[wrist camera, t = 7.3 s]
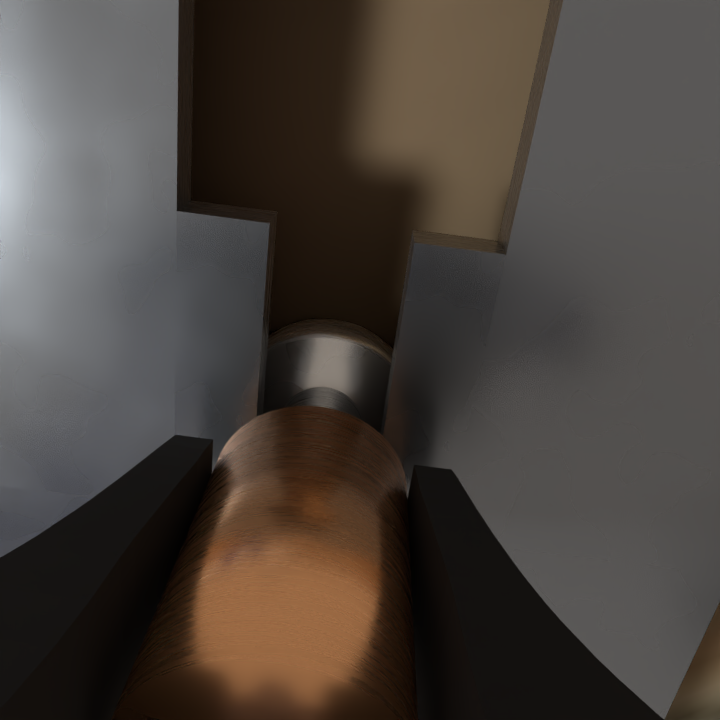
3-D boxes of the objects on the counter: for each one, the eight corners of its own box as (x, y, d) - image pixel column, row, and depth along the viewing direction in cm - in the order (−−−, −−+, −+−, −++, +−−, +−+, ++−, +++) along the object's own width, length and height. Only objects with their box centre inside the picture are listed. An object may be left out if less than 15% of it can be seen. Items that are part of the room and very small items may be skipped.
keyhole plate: (583, 734, 18) (611, 832, 16) (-7, 665, 18) (-64, 754, 16) (1110, -583, 8) (1392, -827, 6) (-228, -800, 8) (-481, -1149, 5)
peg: (394, 482, 15) (403, 897, 8) (233, 456, 15) (84, 852, 7) (427, 334, 13) (479, 676, 6) (248, 305, 13) (81, 617, 6)
